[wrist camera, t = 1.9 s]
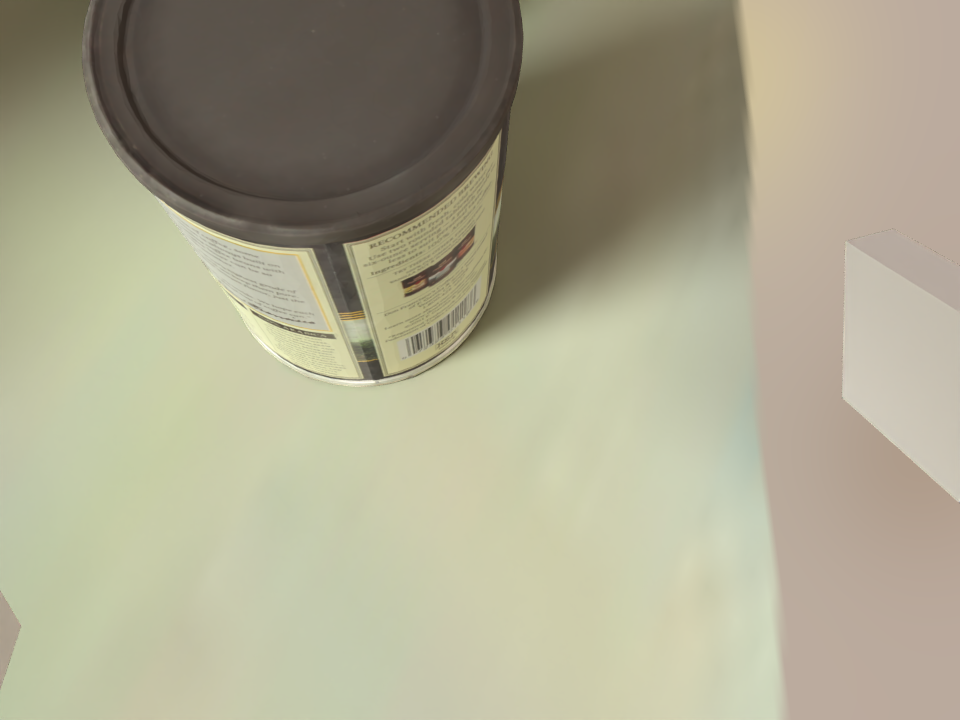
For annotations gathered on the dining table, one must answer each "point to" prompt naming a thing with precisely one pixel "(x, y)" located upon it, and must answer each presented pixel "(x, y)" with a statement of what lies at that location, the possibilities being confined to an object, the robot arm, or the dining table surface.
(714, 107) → the dining table surface
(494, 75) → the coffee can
